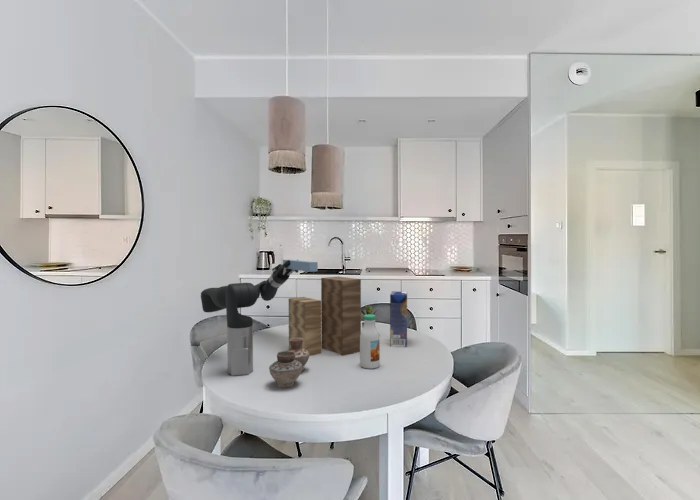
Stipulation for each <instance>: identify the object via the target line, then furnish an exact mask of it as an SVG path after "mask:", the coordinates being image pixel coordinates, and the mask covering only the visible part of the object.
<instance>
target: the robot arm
mask: <svg viewBox="0 0 700 500" xmlns="http://www.w3.org/2000/svg"><path fill="white" fill-rule="evenodd" d="M287 260H288V261H286V262H285V263H283V262H282V263H279V264H278V265H276V266H274V267H273V268H271V271H272V273H271V274H270V276H269V277H268V278H267V279H266V280H263V281H261V282H259V283H257V284H255V285H254V284H253V283H251V282H236V283H229V284H227V285H223V286H220V287H210V288H209V287H208V288H205V289H203V290H202V291H201V292H200V300H201V307H202V308H201V309H202V311H203V313H214V312H220V311H223V310H225V311H226V313H225V314H226V328H227V329H226V332H227V333H226V334H227V335H226V337H227V338H226V339H227V343H226V345H227V349H226V352H227V353H226V354H227V357H226V358H227V374H229V375H230V376H231V377H232V376H244V375H249V374H250V373H252V372H253V371H254V343H253V342H254V337H253V336H254V334H253V333H254V332H253V331H254V325H253V324H254V322H253V318H252V317H251V316H249V315H246V314H241V313H240V312H239V310H238V309H241V308H242V309H243V308H249V307H250V308H251V307H252V306H254V305H255V304H256V303H257V301H258V299H259V298H260V297H261V299H262V301H265V302H268V301H271V300H273V299H274V298H275V296H276V294H277V292H278V289H279V288H280V287H281V286H283V285H284V283H285V282H287V281H288V280H289V278H290V275H291V274H293V273H294V272H295V274H296V273H299V271H300V270H293V269H286V267H288V266H289V265H290V260H291V259H287Z"/></svg>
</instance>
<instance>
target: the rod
mask: <svg viewBox="0 0 700 500" xmlns="http://www.w3.org/2000/svg"><path fill="white" fill-rule="evenodd" d="M288 260H290V265H289V266H288V267H286V269H293V270H299V271H302V272H309V273H315V272H318V261H309V260H299V259H283V260H282V264H283V263H285V262H286V261H288Z"/></svg>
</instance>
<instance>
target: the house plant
mask: <svg viewBox="0 0 700 500" xmlns="http://www.w3.org/2000/svg"><path fill="white" fill-rule="evenodd" d="M364 306H365V311H364V310H362V308H361V321H364V315H367V314H372V315H375V316H377V314H376V313H377V312H378V310H380V309H379V308H377V309H376V310H375V312H373V306H372V304H369V305H366V304H364ZM375 320H377V318H376V319H375ZM363 326H364V322H361V329H363Z"/></svg>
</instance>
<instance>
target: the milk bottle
mask: <svg viewBox="0 0 700 500" xmlns="http://www.w3.org/2000/svg"><path fill="white" fill-rule="evenodd" d="M375 315H376V314H374V315H373V313H372V314H366V315H364V316H363V318H364V319H363V321H364V326H363V328H361V335H360V352H359V366H360V367H361V368H364V369H371V370H372V369H378V368H379V367H380V363H381V361H380V357H381V356H380V355H381V354H380V351H381V349H380V347H381V346H380V344H381V342H380V332H379V330H378V328H377V326H376V320H377V317H376V316H377V315H376V316H375ZM375 319H376V320H375Z"/></svg>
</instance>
